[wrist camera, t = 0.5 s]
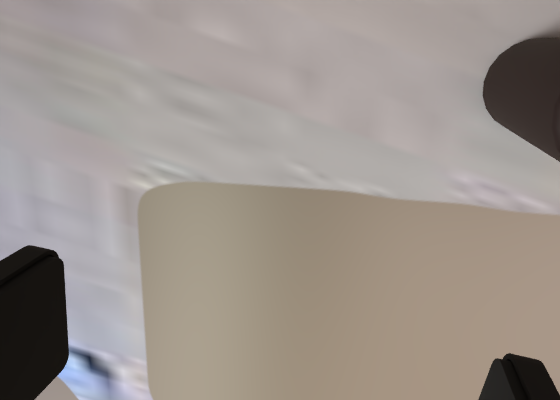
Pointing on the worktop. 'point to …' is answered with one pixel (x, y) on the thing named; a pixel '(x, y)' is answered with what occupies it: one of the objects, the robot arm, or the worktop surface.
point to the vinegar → (527, 92)
